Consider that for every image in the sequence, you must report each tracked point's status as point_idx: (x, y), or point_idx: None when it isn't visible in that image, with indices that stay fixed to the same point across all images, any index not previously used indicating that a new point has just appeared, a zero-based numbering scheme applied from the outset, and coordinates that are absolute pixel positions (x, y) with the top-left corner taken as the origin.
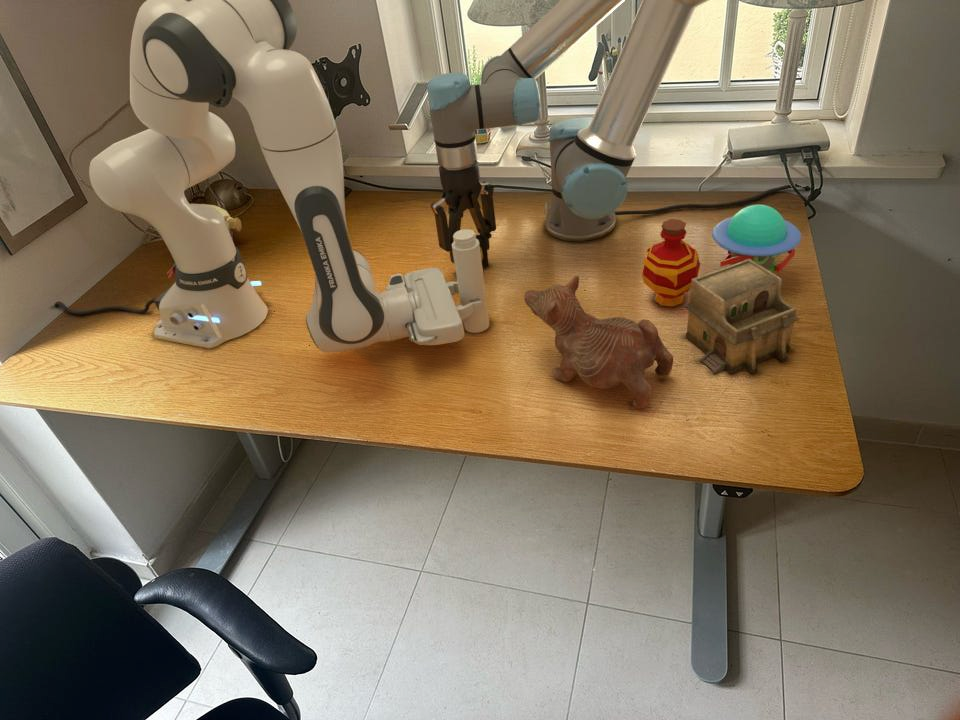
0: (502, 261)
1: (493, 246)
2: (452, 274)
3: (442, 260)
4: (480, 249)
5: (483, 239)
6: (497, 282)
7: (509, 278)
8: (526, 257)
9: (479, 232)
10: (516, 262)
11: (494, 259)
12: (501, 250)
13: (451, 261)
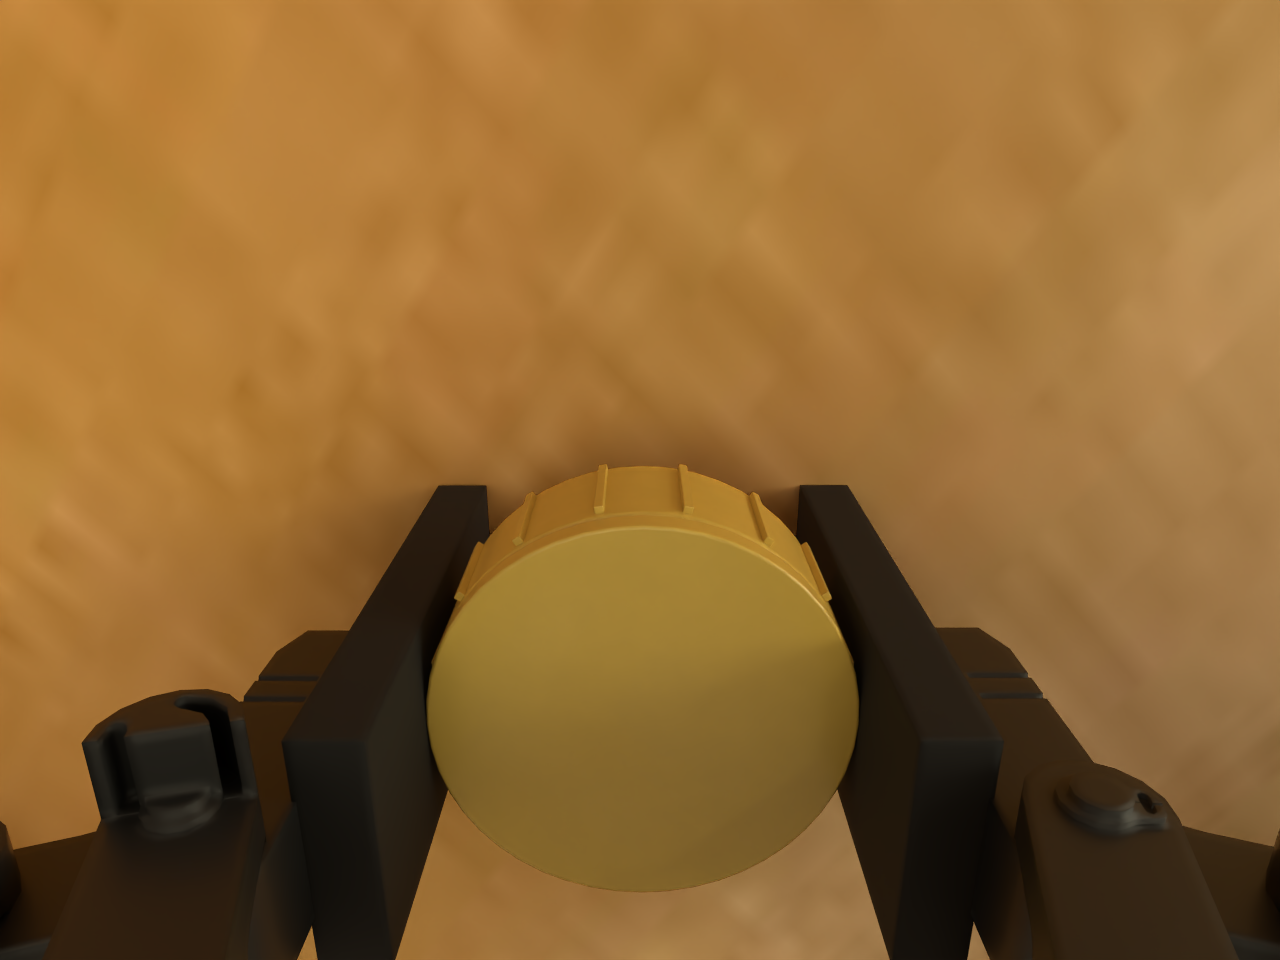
0: (1021, 657)
1: (1262, 264)
2: (394, 459)
3: (478, 3)
4: (794, 810)
5: (918, 954)
6: (681, 918)
7: (814, 942)
8: (1252, 777)
9: (1019, 860)
10: None
11: (997, 554)
12: (1229, 442)
13: (290, 648)
